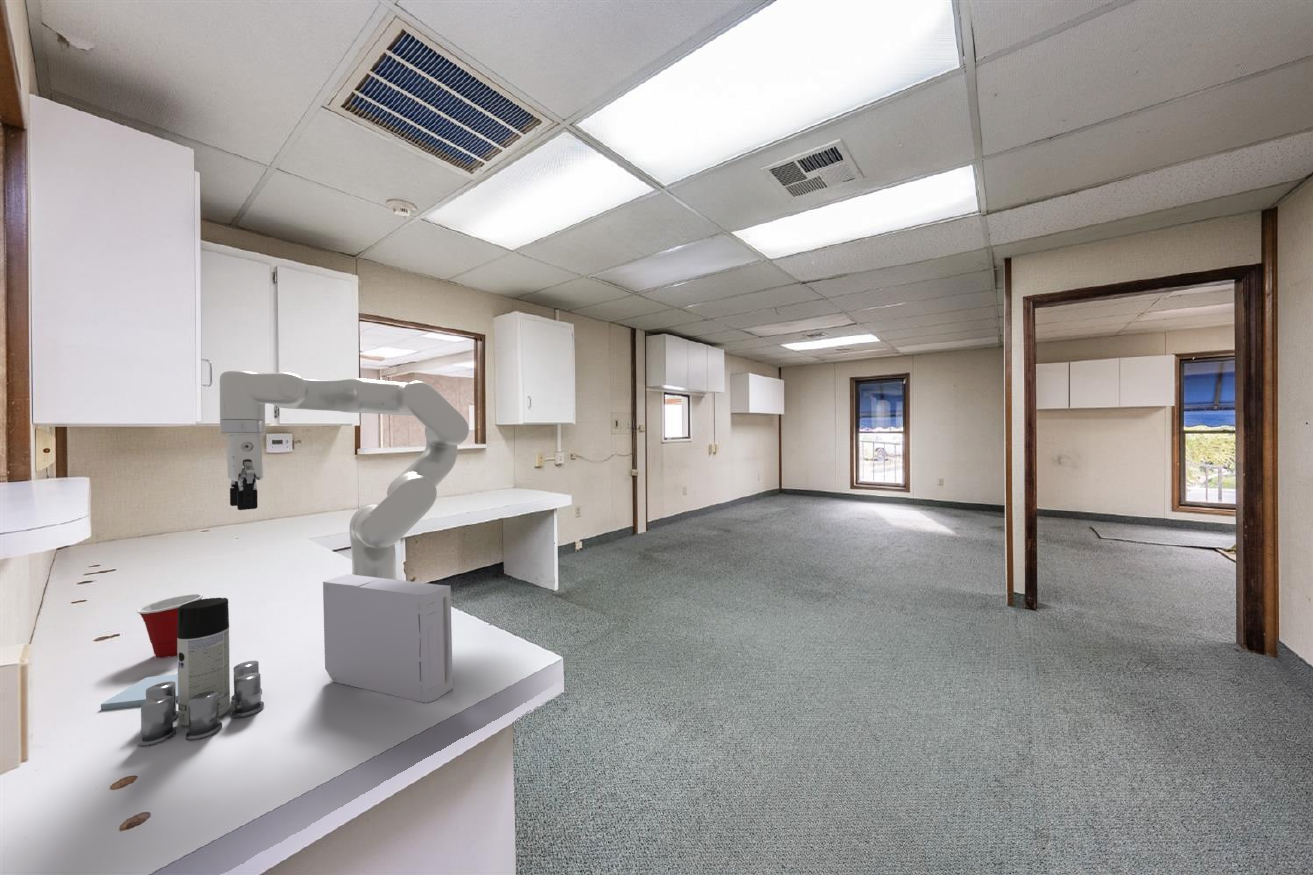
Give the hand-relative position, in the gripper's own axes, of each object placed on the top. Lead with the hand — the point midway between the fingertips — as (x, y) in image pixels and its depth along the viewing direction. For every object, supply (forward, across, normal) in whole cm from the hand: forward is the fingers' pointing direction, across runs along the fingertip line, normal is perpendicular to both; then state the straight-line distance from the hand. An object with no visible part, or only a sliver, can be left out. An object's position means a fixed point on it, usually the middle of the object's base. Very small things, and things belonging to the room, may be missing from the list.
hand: (243, 507), depth 105 cm
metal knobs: (+34, -21, +8) cm, 41 cm away
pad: (+34, -3, +12) cm, 36 cm away
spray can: (+34, -21, +8) cm, 41 cm away
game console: (+34, -34, -17) cm, 51 cm away
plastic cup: (+34, +20, +10) cm, 41 cm away
